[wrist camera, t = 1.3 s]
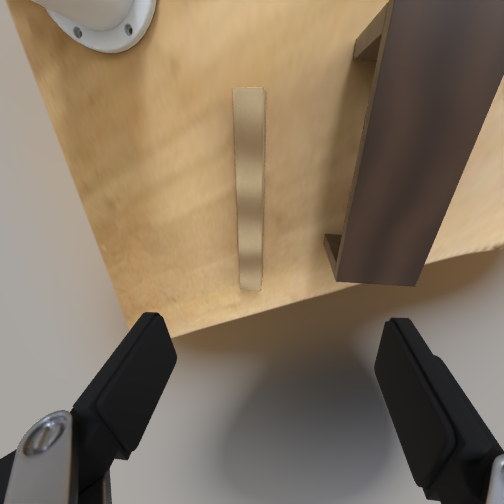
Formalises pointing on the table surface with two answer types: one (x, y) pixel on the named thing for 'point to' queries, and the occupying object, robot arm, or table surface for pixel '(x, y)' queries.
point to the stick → (250, 181)
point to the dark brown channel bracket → (416, 131)
